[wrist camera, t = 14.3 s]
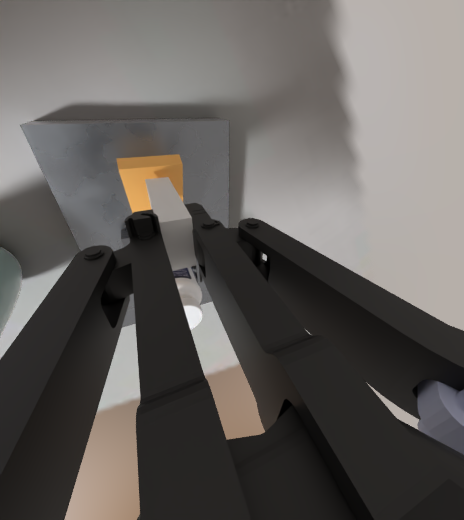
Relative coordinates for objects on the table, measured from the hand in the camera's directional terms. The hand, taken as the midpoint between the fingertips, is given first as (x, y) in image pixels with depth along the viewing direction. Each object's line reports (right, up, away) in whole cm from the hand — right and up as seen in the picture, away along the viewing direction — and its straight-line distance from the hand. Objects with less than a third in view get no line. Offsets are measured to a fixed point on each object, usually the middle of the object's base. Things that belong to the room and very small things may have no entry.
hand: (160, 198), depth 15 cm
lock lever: (-2, +1, +4) cm, 4 cm away
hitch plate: (-4, -1, +11) cm, 11 cm away
